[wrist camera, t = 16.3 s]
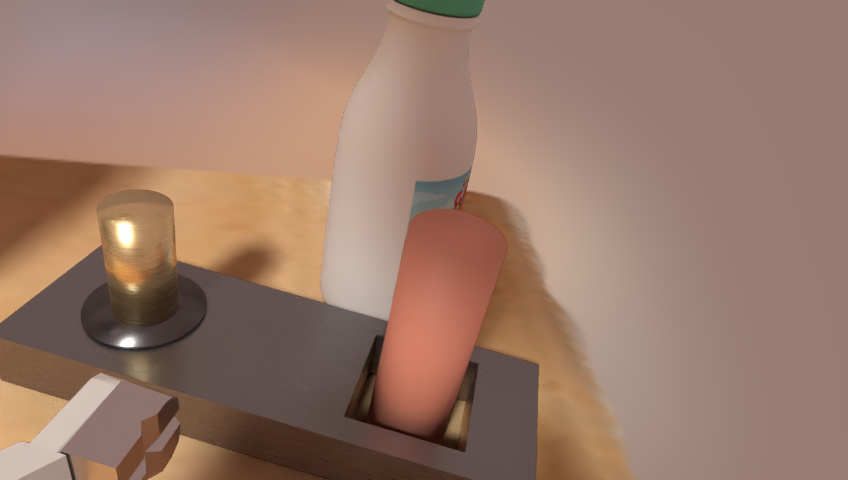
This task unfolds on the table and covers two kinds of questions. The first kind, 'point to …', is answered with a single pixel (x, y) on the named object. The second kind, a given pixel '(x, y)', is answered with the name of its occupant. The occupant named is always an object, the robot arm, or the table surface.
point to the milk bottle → (399, 149)
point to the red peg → (434, 320)
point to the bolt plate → (251, 361)
